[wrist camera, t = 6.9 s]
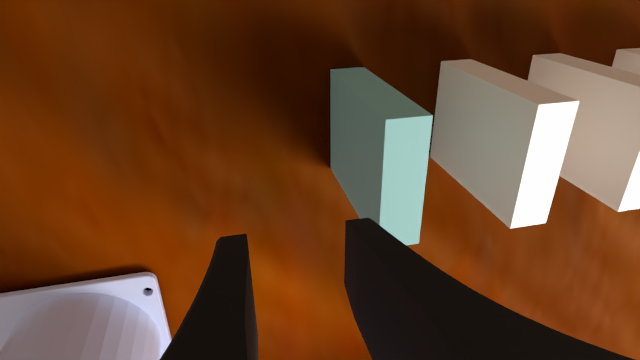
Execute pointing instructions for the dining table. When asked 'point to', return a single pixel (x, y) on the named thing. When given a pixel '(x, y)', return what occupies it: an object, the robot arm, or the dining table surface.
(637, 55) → the domino
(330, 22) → the dining table surface
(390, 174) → the domino teal
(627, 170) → the domino
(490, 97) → the domino
